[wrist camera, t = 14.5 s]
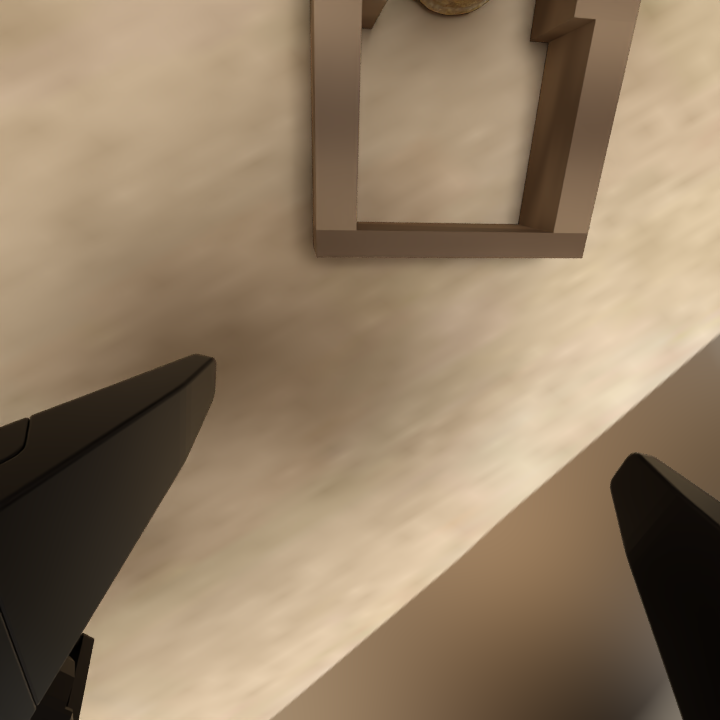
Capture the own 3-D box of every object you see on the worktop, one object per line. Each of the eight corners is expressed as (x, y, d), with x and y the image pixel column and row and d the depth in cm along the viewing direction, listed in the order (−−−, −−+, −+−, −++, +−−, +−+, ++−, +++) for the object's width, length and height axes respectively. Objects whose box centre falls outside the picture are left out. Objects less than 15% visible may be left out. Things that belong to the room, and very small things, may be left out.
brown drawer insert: (544, 246, 21) (582, 258, 18) (313, 244, 19) (316, 257, 17) (627, -185, 15) (701, -263, 12) (306, -237, 14) (310, -339, 11)
